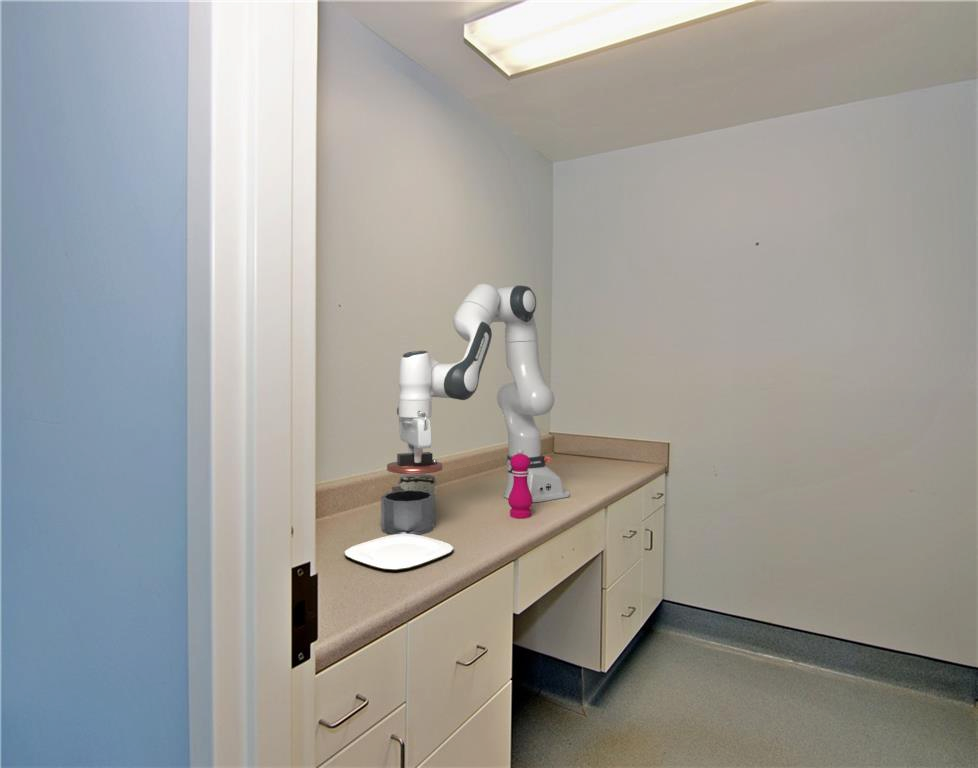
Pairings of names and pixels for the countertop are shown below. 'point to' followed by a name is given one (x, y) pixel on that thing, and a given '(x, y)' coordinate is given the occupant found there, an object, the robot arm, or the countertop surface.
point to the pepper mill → (520, 487)
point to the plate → (398, 551)
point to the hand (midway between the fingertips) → (415, 461)
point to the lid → (414, 464)
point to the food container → (418, 482)
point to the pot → (407, 512)
